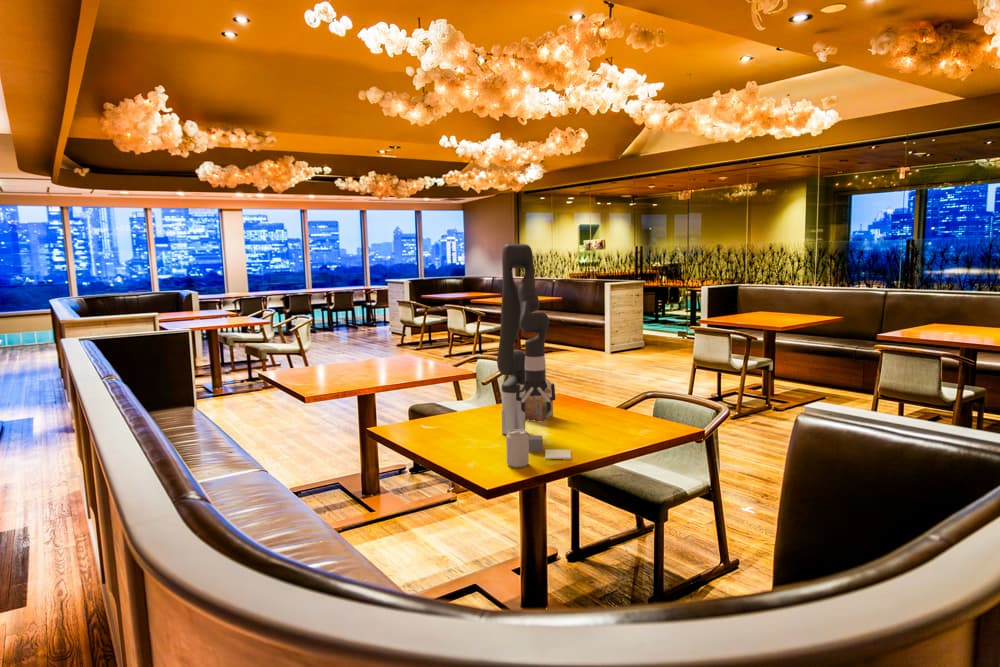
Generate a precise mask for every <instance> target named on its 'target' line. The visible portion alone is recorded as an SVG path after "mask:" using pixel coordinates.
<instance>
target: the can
mask: <svg viewBox="0 0 1000 667" xmlns="http://www.w3.org/2000/svg"><path fill="white" fill-rule="evenodd" d="M505 436H506V437H505V438H506V440H505V442H506V463H507V465H508V466H509V467H511V468H516V469H517V468H518V469H519V468H524V467H526V466H527V465H528V464H529V463H530V462H529V459H530V458H529V456H530V455H529V434H527V430H526V429H525V430H523V429H512V430H509V431H508V434H507V435H505Z"/></svg>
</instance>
